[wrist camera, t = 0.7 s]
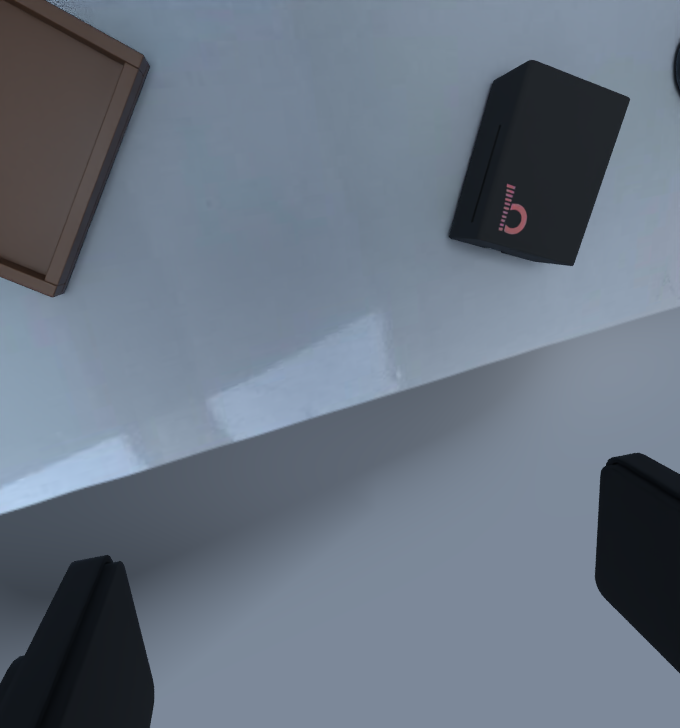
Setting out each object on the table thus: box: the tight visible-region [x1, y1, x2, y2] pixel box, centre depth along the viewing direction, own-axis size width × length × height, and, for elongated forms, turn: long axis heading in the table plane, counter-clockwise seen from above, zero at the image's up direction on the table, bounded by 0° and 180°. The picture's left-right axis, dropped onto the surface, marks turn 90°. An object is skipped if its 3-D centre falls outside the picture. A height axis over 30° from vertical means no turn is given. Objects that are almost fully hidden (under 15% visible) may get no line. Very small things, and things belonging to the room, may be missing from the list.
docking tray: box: [0, 0, 150, 297], centre depth 29 cm, size 15×11×2 cm
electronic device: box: [449, 60, 630, 266], centre depth 34 cm, size 7×11×5 cm
